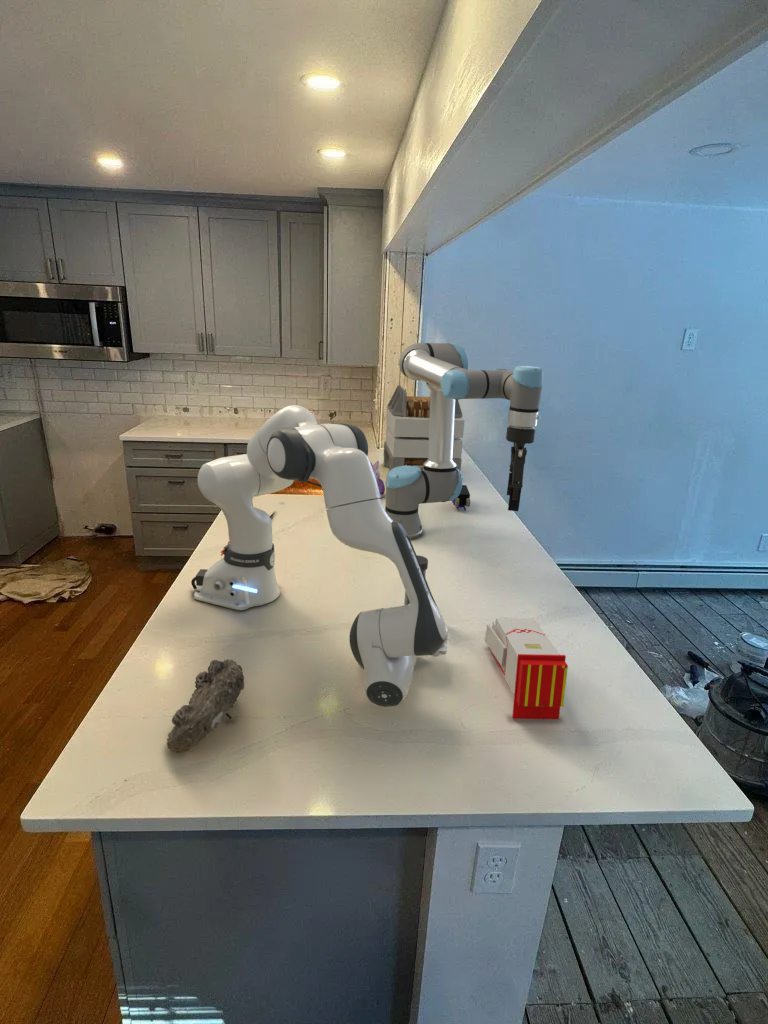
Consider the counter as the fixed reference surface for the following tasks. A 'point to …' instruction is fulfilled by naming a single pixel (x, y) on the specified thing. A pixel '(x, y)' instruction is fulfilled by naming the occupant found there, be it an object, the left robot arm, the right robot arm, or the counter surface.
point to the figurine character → (462, 498)
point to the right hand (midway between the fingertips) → (512, 502)
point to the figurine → (378, 479)
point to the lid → (423, 562)
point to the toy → (529, 667)
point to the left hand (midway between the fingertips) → (406, 616)
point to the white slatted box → (414, 431)
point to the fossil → (206, 705)
